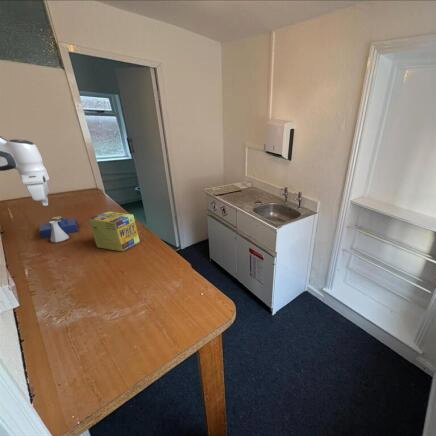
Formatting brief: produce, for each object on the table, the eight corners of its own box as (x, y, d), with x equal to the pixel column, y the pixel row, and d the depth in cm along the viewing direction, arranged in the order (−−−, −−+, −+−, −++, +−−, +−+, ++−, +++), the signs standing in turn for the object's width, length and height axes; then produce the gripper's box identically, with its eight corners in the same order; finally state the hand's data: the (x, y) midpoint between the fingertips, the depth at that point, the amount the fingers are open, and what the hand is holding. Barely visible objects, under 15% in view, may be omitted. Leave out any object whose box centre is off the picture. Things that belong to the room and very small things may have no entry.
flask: (65, 234, 124) (58, 217, 120) (72, 238, 121) (66, 220, 117) (47, 240, 118) (40, 222, 114) (54, 244, 115) (47, 225, 111)
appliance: (42, 238, 120) (37, 227, 118) (44, 230, 128) (40, 220, 125) (77, 231, 128) (74, 221, 126) (78, 224, 136) (74, 215, 134)
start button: (52, 222, 125) (51, 219, 124) (53, 220, 127) (52, 217, 127) (62, 220, 127) (61, 218, 126) (63, 218, 130) (61, 215, 129)
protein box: (123, 251, 111) (115, 222, 105) (96, 247, 114) (87, 218, 108) (140, 241, 121) (134, 214, 115) (115, 237, 123) (107, 210, 117)
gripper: (28, 173, 112) (39, 200, 118) (21, 182, 98) (34, 212, 103) (46, 171, 116) (56, 198, 121) (42, 180, 102) (53, 209, 107)
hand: (46, 204), depth 112 cm, fingers closed
